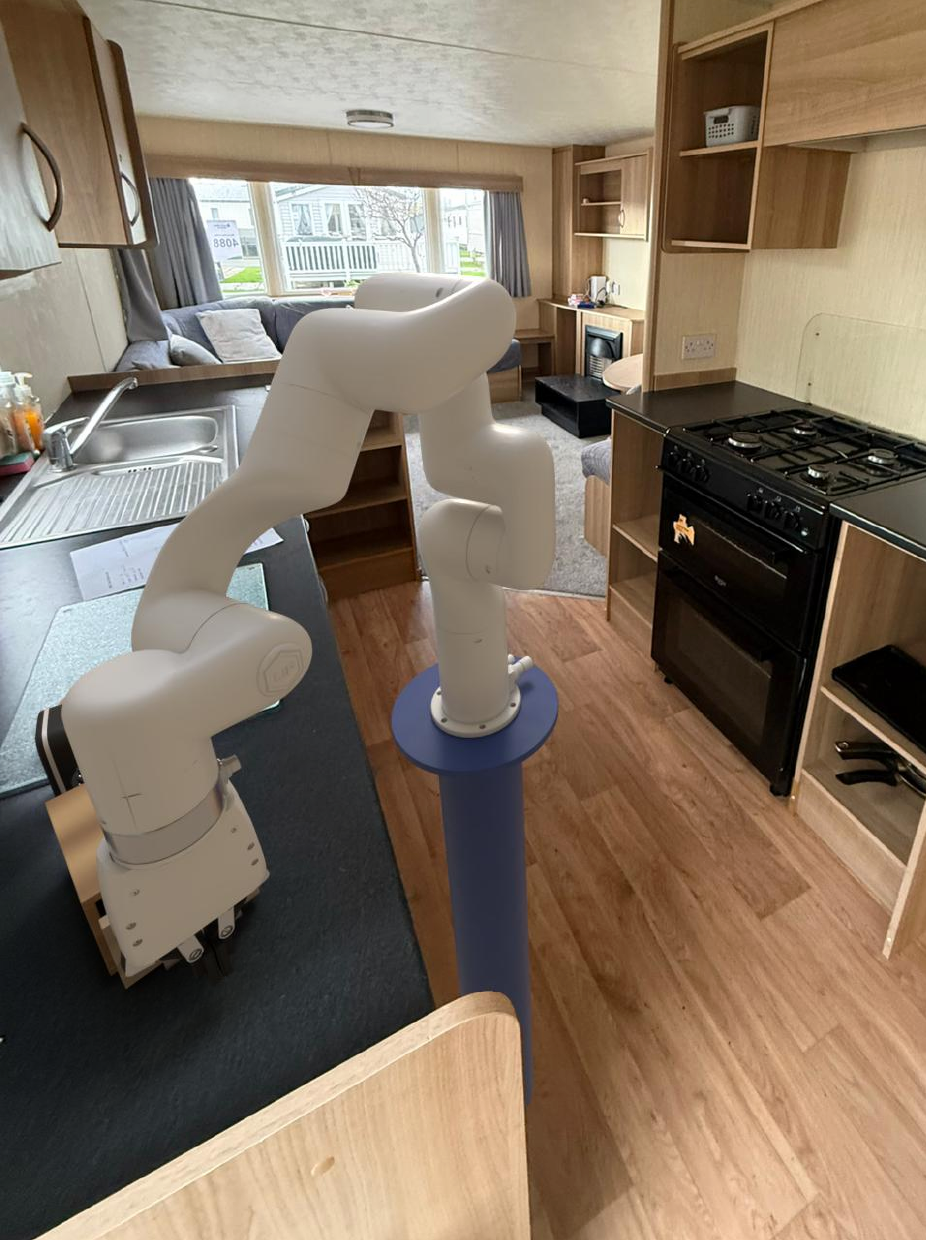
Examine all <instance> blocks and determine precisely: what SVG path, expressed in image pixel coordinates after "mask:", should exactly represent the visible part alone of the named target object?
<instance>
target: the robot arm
mask: <svg viewBox="0 0 926 1240" xmlns="http://www.w3.org/2000/svg"><path fill="white" fill-rule="evenodd" d="M353 300H354V301H353V307H354V308H350V307H348V308H347V307H329V308H322V309H317V310H313V311H310V312H308V313H307V314H305V315H303V317H302V318H300V319H299V321H297V323H296V324H295V325H294V327H293V329H292V330H291V332H290V334H289V336H288V340H287V341H286V344H285V347H284V350H283V351H282V355H281V357H280V359H279V363H278V366H277V367H276V370H275V373H274V376H273V378H272V381H271V384H270V388H269V390H268V393H267V396H266V399H265V400H264V404H263V405H262V409H261V412H260V414H259V415H258V416H259V417H258V420H257V422H256V425H255V426H254V430H253V431H252V434H251V437H250V439H249V442H248V445H247V448H246V450H245V453H244V455H243V457H242V460H241V461H240V464H239V465H238V467H237V468H236V469H235V471H234V472H233V473H232V474H231V475H230V476H229V477H227V478H226V479H225V480H224V481H222V482H221V483H220V484H219V485H217V486H216V487H215V488H214V489H212V490H211V491H210V492H209V493H208V494H207V495H206V496H205V497H204V498H202V500H200V501H199V503H198V504H197V505H196V506H195V507H193V509H192V510H191V511H190V512H189V513H188V514H187V515H186V516H185V517H184V518H183V519H182V520H181V521H180V522H179V523H178V524H177V526H176V527H174V529H173V530H172V532H171V533H170V534H169V535H168V537H167V538H166V539H165V541H164V543H163V545H162V547H161V548H160V549H159V552H158V554H157V555H156V558H155V560H154V563H153V564H152V567H151V570H150V572H149V575H148V577H147V580H146V583H145V585H144V588H143V590H142V592H141V596H140V598H139V601H138V604H137V606H136V609H135V612H134V616H133V621H132V626H131V632H130V646H131V651H130V652H127V653H124V654H119V655H118V656H115V657H113V658H110V659H108V660H106V661H104V662H101V663H99V664H98V665H96V666H94V667H93V668H91V669H90V670H88V671H87V672H85V673H84V674H83V675H82V676H80V677H79V678H78V679H77V680H76V681H75V682H74V683H73V684H72V685H71V686H70V688H69V689H68V691H67V693H66V694H65V696H64V697H65V698H64V697H63V698H64V701H63V704H62V711H61V718H62V722H63V725H64V729H65V732H66V735H67V737H68V740H69V743H70V745H71V748H72V751H73V753H74V756H75V759H76V762H77V764H78V767H79V770H80V772H81V775H82V778H83V780H84V783H85V786H86V789H87V791H88V794H89V797H90V799H91V802H92V805H93V807H94V810H95V813H96V815H97V818H98V821H99V824H100V826H101V829H102V832H103V834H104V838H103V839H102V840H101V841H100V843H99V845H98V847H97V851H96V867H97V876H98V882H99V887H100V892H101V896H102V900H103V903H104V907H105V910H106V914H107V917H108V920H109V923H110V926H111V929H112V931H113V934H114V936H115V937H116V938H117V941H118V944H119V947H120V949H121V966H122V968H123V971H124V973H125V976H126V977H131V976H133V975H135V974H137V973H139V972H140V971H142V970H144V969H146V968H148V967H149V966H151V965H153V964H155V962H156V961H157V960H161V961H165V960H173V959H181V958H183V959H185V961H186V962H187V963H189V964H190V967H191V969H192V972H193V975H194V976H195V979H196V980H197V981H199V980H200V979H202V978H203V977H204V976H205V975H206V977H207V979H208V981H209V983H210V984H211V987H212V988H215V987H216V986H217V985H218V984H219V983H220V981H221V980H222V977H223V978H225V977H229V976H230V975H231V974H232V973H233V972H234V970H233V966H232V964H231V959H230V956H231V955H233V954H234V953H235V952H237V950H236V947H235V943H234V940H233V936H232V934H233V933H234V930H235V927H236V926H235V925H236V924H235V923H236V922H235V921H236V920H235V918H236V916H237V915H238V913H239V911H240V910H241V911H242V908H243V907H244V905H245V904H246V903H245V901H246V899H247V896H248V895H249V894H250V895H251V894H252V893H253V892H254V891H255V890H256V889H257V888H258V887H259V888H260V887H261V886H262V884H264V883H265V882H266V881H267V880H268V879H269V877H270V876H271V872H270V871H269V869H268V867H267V863H266V858H265V855H264V852H263V850H262V845H261V843H260V841H259V838H258V835H257V833H256V830H255V828H254V826H253V822H252V820H251V818H250V815H249V814H248V812H247V810H246V807H245V805H244V803H243V801H242V799H241V798H240V795H239V793H238V791H237V788H235V787H234V785H233V783H232V782H231V780H230V779H231V778H232V777H233V775H235V774H236V773H238V772H240V771H241V770H242V764H241V762H240V760H239V758H238V756H237V755H236V754H232V755H230V757H227V758H222V759H219V758H218V757H217V755H216V752H215V748H214V746H213V741H212V737H213V736H215V735H216V734H219V733H220V732H222V731H225V730H226V729H229V728H230V727H232V726H234V725H237V724H238V723H241V722H243V721H244V720H246V719H249V718H251V717H252V716H254V715H256V714H258V713H261V712H262V711H264V710H267V708H270V707H271V706H273V705H274V704H276V703H278V702H279V701H281V700H282V699H284V698H285V697H286V696H287V695H289V693H291V692H292V691H293V690H294V689H295V688H296V687H297V685H299V683H301V681H302V679H303V678H304V676H305V675H306V673H307V671H308V669H309V668H310V664H311V662H312V661H311V660H312V657H313V646H312V645H313V644H312V640H311V638H310V635H309V634H308V632H307V631H306V629H305V628H304V627H303V626H302V625H301V624H300V623H298V622H297V621H295V620H294V619H293V618H290V617H288V616H286V615H283V614H280V613H278V612H275V611H271V610H269V609H265V608H262V607H259V606H256V605H254V604H251V603H248V602H244V601H241V600H239V599H235V598H232V597H229V596H227V593H228V590H229V586H230V584H231V581H232V580H233V579H232V578H233V576H234V573H235V571H236V569H237V567H238V564H240V561H241V560H242V558H243V556H244V555H245V554H246V552H247V551H248V550H249V549H250V547H251V546H252V545H253V544H254V543H255V542H256V541H257V540H258V539H259V538H260V537H261V536H262V535H264V534H265V533H266V532H268V531H270V529H272V528H274V527H276V526H277V525H280V524H282V523H284V522H286V521H288V520H291V519H294V518H296V517H299V516H302V515H304V514H307V513H311V512H314V511H318V510H320V509H324V508H328V507H330V506H333V505H335V504H336V503H339V502H340V501H342V499H343V498H344V497H345V496H346V494H347V492H348V489H349V486H350V482H351V479H352V476H353V473H354V470H355V467H356V464H357V461H358V458H359V455H360V452H361V450H362V446H363V444H364V440H365V437H366V434H367V432H368V429H369V426H370V422H371V420H372V417H373V415H374V412H375V410H376V411H384V412H390V413H397V414H405V415H417V423H418V431H419V432H418V433H419V442H420V451H421V460H422V467H423V472H424V475H425V479H426V482H427V483H428V485H429V486H430V487H431V488H432V489H433V490H434V491H436V492H437V493H440V494H443V495H445V496H450V497H454V498H447V499H443V500H439V501H437V502H435V503H434V504H432V505H431V506H430V507H428V509H427V510H426V511H425V513H424V514H423V515H422V517H421V519H420V522H419V525H418V530H417V545H418V551H419V554H420V559H421V561H422V565H423V567H424V570H425V573H426V576H427V579H428V584H429V589H430V594H431V603H432V612H433V613H432V614H433V622H434V623H433V624H434V634H435V644H436V656H437V663H438V668H439V678H440V687H439V688H438V689H437V690H436V692H435V693H434V695H433V697H432V700H431V715H432V719H433V721H434V722H435V724H436V725H437V726H438V727H439V728H440V729H441V730H442V731H444V732H446V733H447V734H450V735H453V736H457V737H463V738H476V737H483V736H486V735H490V734H492V733H495V732H497V731H499V730H501V729H502V728H504V727H506V726H507V725H508V724H509V723H510V722H511V721H512V720H513V719H514V718H515V717H516V715H517V713H518V711H519V709H520V704H521V696H520V690H519V688H518V686H517V685H516V683H515V681H516V680H518V679H519V675H520V674H522V673H525V672H526V671H528V670H529V669H531V668H532V667H533V664H534V661H533V658H532V657H530V656H529V655H525V656H524V657H521V658H522V659H521V660H519V661H518V662H517V663H516V664H514V665H511V664H512V663H514V662H515V658H514V656H515V655H513V654H512V653H508V652H509V651H508V650H509V649H508V629H507V604H506V602H507V601H506V595H505V591H504V588H507V589H510V590H516V591H531V590H535V589H537V588H539V587H540V586H542V585H543V584H544V583H546V581H547V580H548V578H549V577H550V575H551V572H552V571H553V570H552V569H553V566H554V563H555V556H556V547H557V545H556V544H557V524H556V523H557V521H556V519H557V518H556V516H557V515H556V473H555V461H554V456H553V452H552V450H551V447H550V445H549V444H548V441H547V440H546V439H545V437H543V436H542V435H541V434H540V433H539V432H537V431H535V430H533V429H530V428H527V427H522V426H516V425H510V424H503V423H499V422H497V421H496V420H495V419H494V417H493V413H492V404H491V402H492V401H491V393H490V392H491V391H490V382H489V378H488V374H487V371H489V370H491V368H493V367H494V366H495V365H497V364H498V362H499V361H500V360H501V359H503V358H504V356H505V355H506V353H507V352H508V351H509V348H511V347H510V346H511V345H512V343H513V339H514V337H515V333H516V330H517V312H516V311H517V310H516V306H515V304H514V300H513V298H512V296H511V295H510V293H509V291H508V290H507V289H506V288H505V286H504V285H502V284H500V283H499V282H498V281H496V280H495V279H491V278H490V277H485V276H477V275H461V274H438V273H430V272H429V273H427V272H407V271H406V272H405V271H400V272H399V271H397V272H396V271H395V272H383V273H378V274H373V275H372V276H370V277H367V278H366V279H364V280H363V281H362V282H361V283H359V285H358V286H357V288H356V290H355V294H354V299H353ZM244 903H245V904H244ZM234 920H235V921H234ZM202 928H203V930H204V933H203V931H202V930H201V929H202ZM204 934H205V935H204ZM181 960H182V959H181Z"/></svg>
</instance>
